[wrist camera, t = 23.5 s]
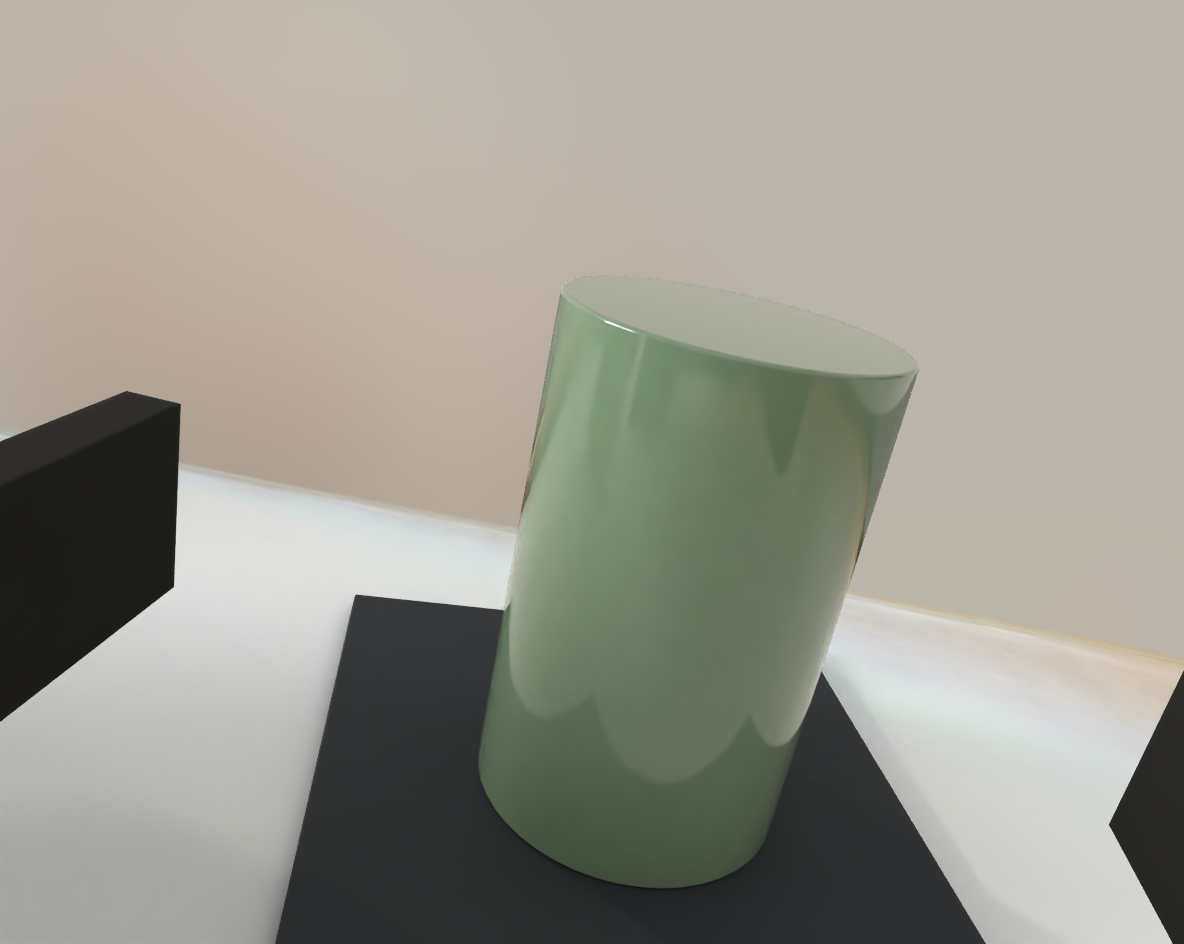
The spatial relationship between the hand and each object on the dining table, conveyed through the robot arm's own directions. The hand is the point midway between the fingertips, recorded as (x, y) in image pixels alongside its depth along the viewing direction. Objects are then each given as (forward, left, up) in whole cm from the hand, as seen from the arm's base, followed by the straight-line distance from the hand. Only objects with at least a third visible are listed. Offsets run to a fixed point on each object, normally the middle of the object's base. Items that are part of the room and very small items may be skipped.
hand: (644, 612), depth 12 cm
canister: (-7, +3, -8) cm, 11 cm away
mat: (-7, +3, -9) cm, 12 cm away
